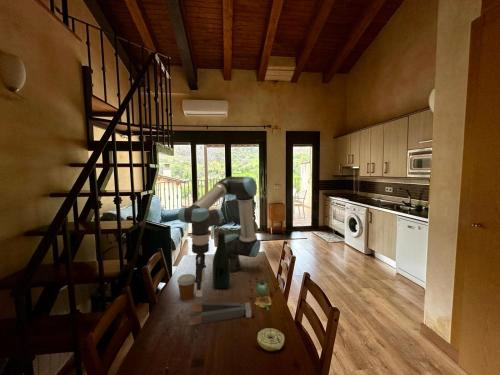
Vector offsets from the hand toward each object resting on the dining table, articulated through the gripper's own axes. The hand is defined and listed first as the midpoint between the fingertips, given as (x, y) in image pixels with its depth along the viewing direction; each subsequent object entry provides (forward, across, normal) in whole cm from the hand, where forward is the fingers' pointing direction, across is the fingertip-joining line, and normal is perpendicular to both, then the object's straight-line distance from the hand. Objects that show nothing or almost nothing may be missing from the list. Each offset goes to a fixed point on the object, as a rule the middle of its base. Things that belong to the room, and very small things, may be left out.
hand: (200, 288), depth 111 cm
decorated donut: (+15, +19, +29) cm, 38 cm away
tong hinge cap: (+14, 0, +22) cm, 26 cm away
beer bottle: (+14, -29, +9) cm, 34 cm away
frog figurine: (+15, -10, +30) cm, 35 cm away
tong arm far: (+13, -4, +8) cm, 16 cm away
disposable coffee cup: (+15, -17, -9) cm, 24 cm away
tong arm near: (+13, +3, +8) cm, 16 cm away
